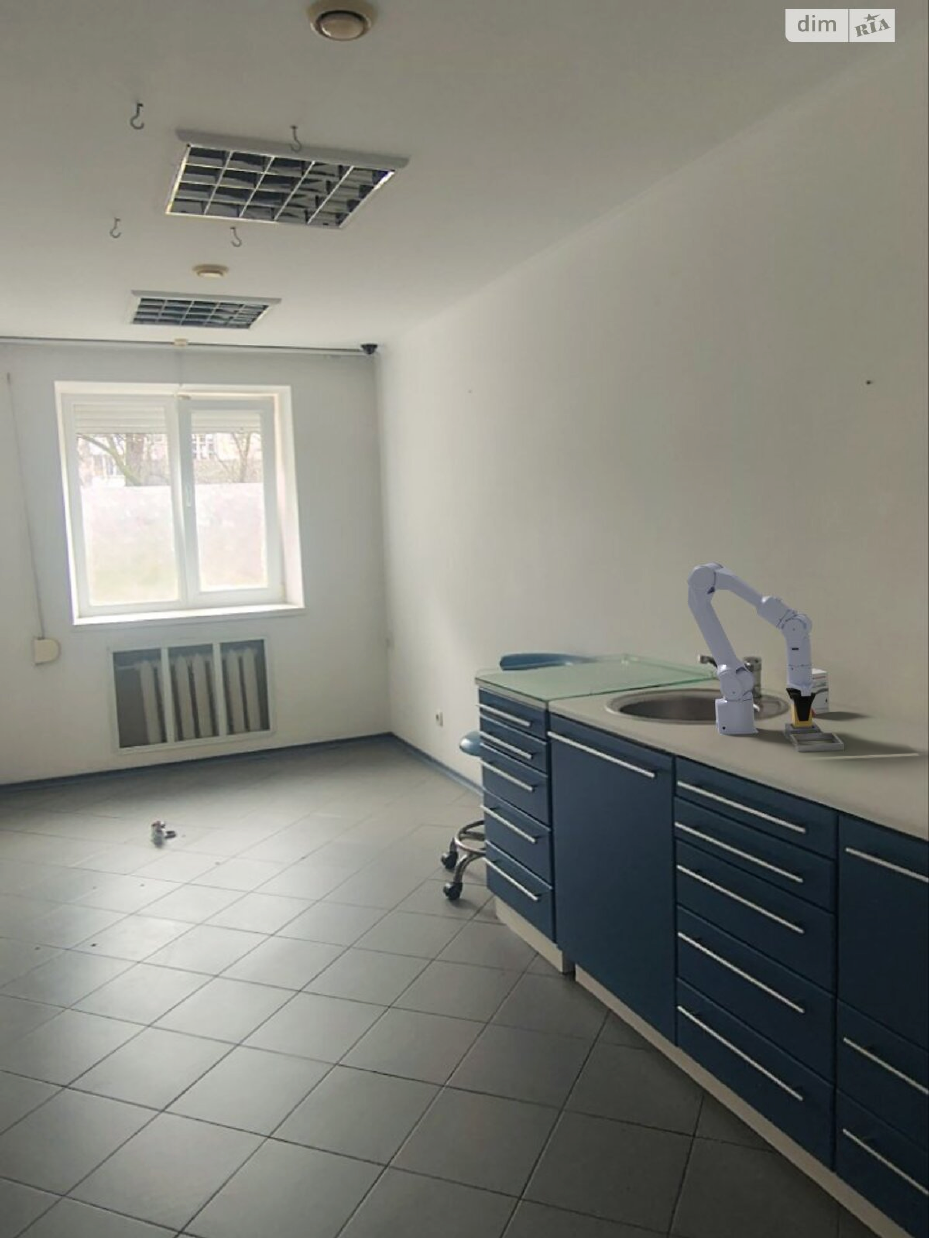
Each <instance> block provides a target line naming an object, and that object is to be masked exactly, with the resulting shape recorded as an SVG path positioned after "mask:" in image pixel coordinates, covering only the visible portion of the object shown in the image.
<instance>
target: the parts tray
mask: <svg viewBox="0 0 929 1238" xmlns="http://www.w3.org/2000/svg"><path fill="white" fill-rule="evenodd" d="M816 740H817V741H821V740H832V741H833V742H834V743H833V742H832V743H831V742H830V743H816V744H815V743H814V744H813V743H811V744H800V743H799V742H800V741H816ZM789 741H790V743H791V744H792V745H793V747H794V748H795V750H796V751H797V752H798V753H803V752H827V751H845V743H844V742H843V741H842V740H841V739H840V738H839V737H838V736H837V734H836V733H835V732H822V733H809V734H790V739H789ZM798 741H799V742H798Z"/></svg>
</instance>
